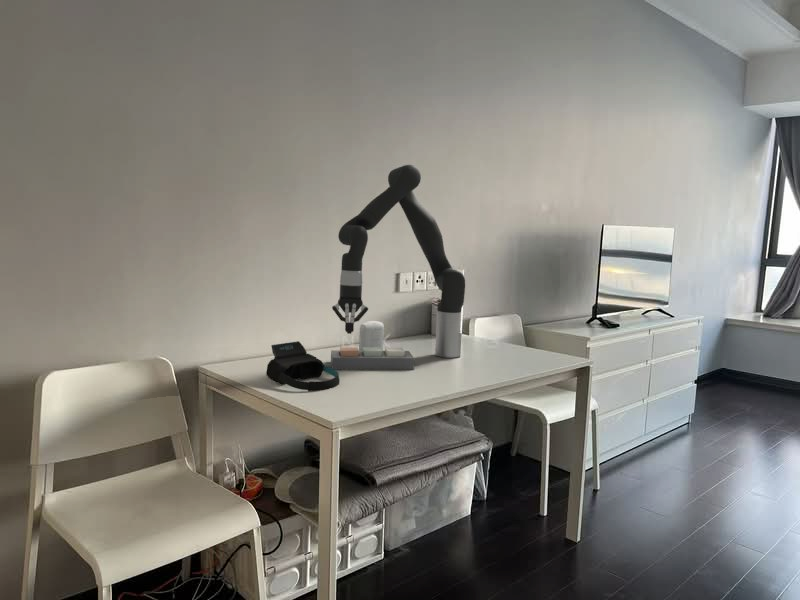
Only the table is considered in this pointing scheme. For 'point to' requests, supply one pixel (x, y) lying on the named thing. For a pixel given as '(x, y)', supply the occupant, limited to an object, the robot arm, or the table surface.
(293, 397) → the table surface
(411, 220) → the robot arm
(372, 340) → the photo printer
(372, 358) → the panel
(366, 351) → the sage key
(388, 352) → the cream key
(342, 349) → the terracotta key
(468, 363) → the table surface
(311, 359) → the virtual reality headset
